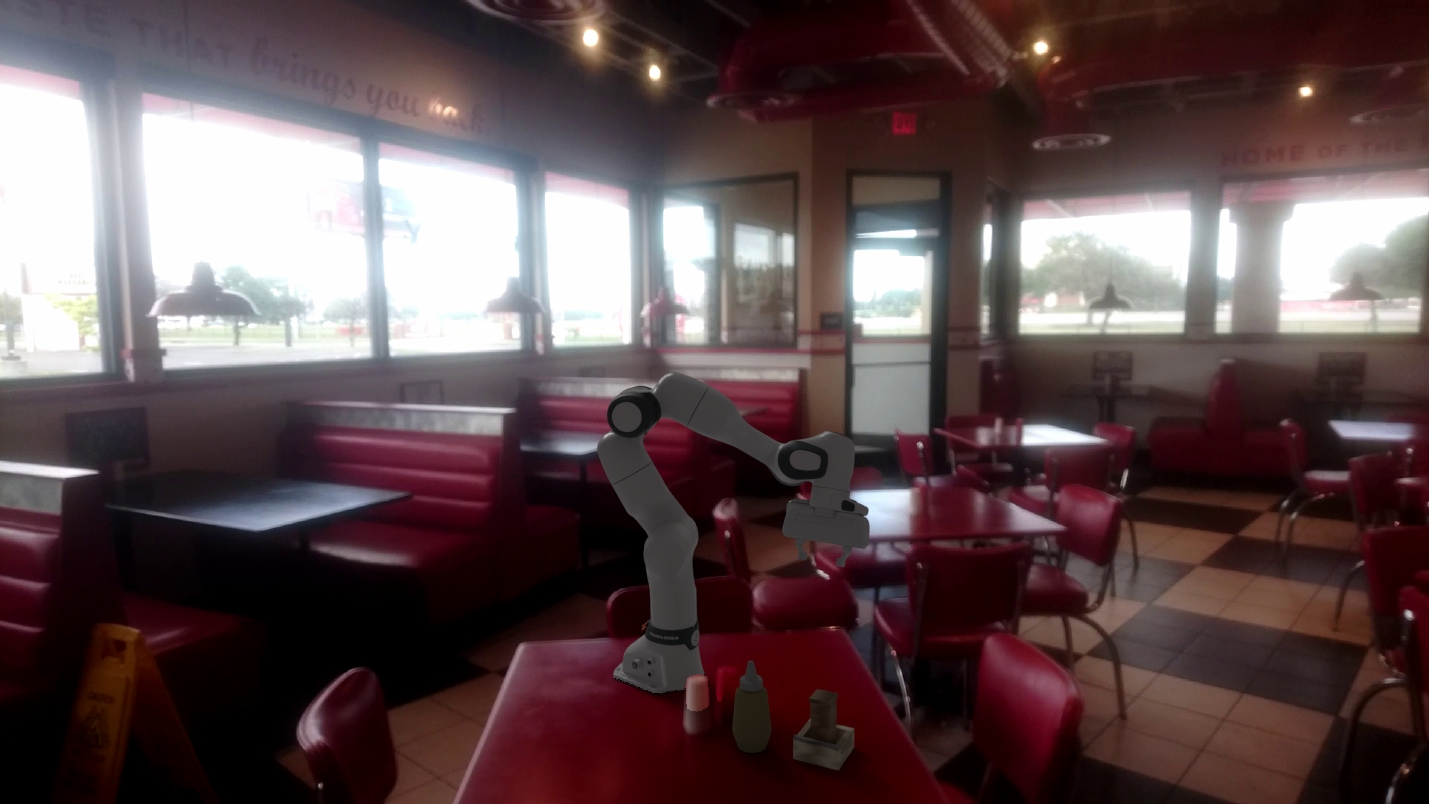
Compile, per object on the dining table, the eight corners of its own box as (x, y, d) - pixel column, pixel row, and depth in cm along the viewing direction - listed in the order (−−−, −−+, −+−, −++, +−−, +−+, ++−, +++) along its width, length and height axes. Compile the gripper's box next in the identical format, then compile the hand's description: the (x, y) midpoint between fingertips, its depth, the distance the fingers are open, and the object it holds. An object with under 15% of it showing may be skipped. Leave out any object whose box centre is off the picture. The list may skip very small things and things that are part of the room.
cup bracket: (793, 758, 161) (793, 735, 161) (810, 736, 169) (810, 714, 169) (838, 770, 157) (838, 747, 156) (854, 747, 165) (854, 724, 164)
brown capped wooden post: (809, 755, 162) (809, 698, 161) (817, 745, 166) (817, 689, 165) (830, 761, 160) (830, 702, 159) (837, 750, 164) (837, 693, 163)
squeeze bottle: (769, 758, 161) (768, 672, 159) (729, 755, 163) (727, 669, 161) (774, 737, 169) (773, 654, 167) (736, 734, 171) (734, 652, 169)
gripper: (782, 495, 190) (773, 555, 188) (866, 506, 179) (857, 569, 177) (793, 498, 195) (785, 556, 193) (875, 509, 185) (867, 571, 182)
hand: (820, 563), depth 185 cm, fingers open, 8 cm apart
